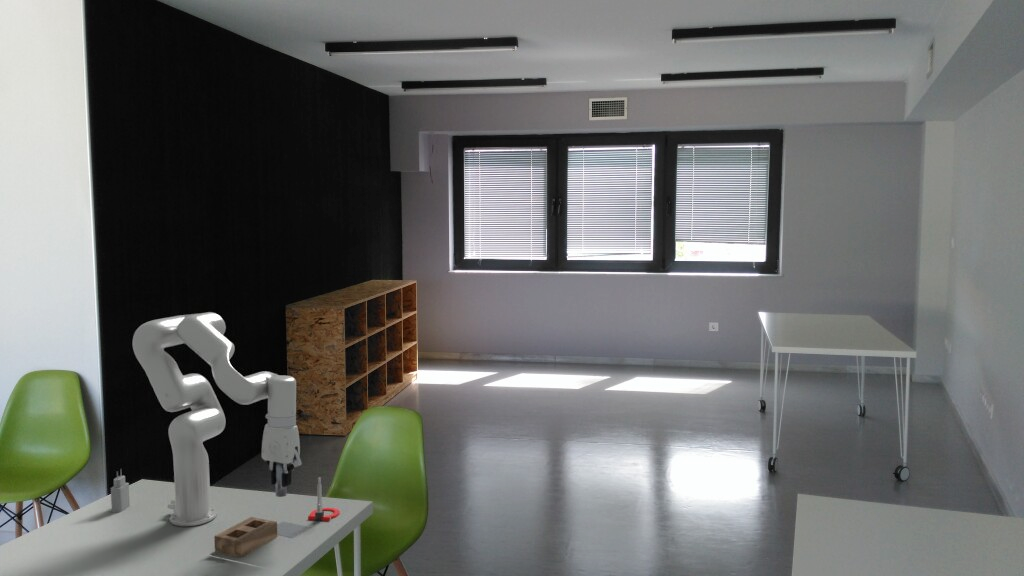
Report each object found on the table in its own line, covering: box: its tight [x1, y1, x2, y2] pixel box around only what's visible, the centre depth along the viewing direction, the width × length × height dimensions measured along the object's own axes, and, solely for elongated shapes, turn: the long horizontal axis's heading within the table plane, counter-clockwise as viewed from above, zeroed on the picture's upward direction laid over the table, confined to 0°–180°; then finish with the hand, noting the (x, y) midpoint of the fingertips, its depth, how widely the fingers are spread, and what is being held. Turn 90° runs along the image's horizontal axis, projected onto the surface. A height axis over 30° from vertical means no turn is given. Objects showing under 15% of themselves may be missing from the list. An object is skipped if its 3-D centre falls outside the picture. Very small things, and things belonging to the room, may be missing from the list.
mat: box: [277, 521, 312, 539], centre depth 221 cm, size 10×8×1 cm
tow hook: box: [307, 477, 340, 522], centre depth 231 cm, size 8×13×9 cm
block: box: [214, 516, 278, 558], centre depth 211 cm, size 9×14×4 cm, turn 157°
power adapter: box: [110, 468, 131, 513], centre depth 236 cm, size 3×5×12 cm, turn 176°
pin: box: [275, 462, 288, 498], centre depth 219 cm, size 4×4×11 cm
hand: (281, 483), depth 219 cm, fingers closed on pin, 3 cm apart
